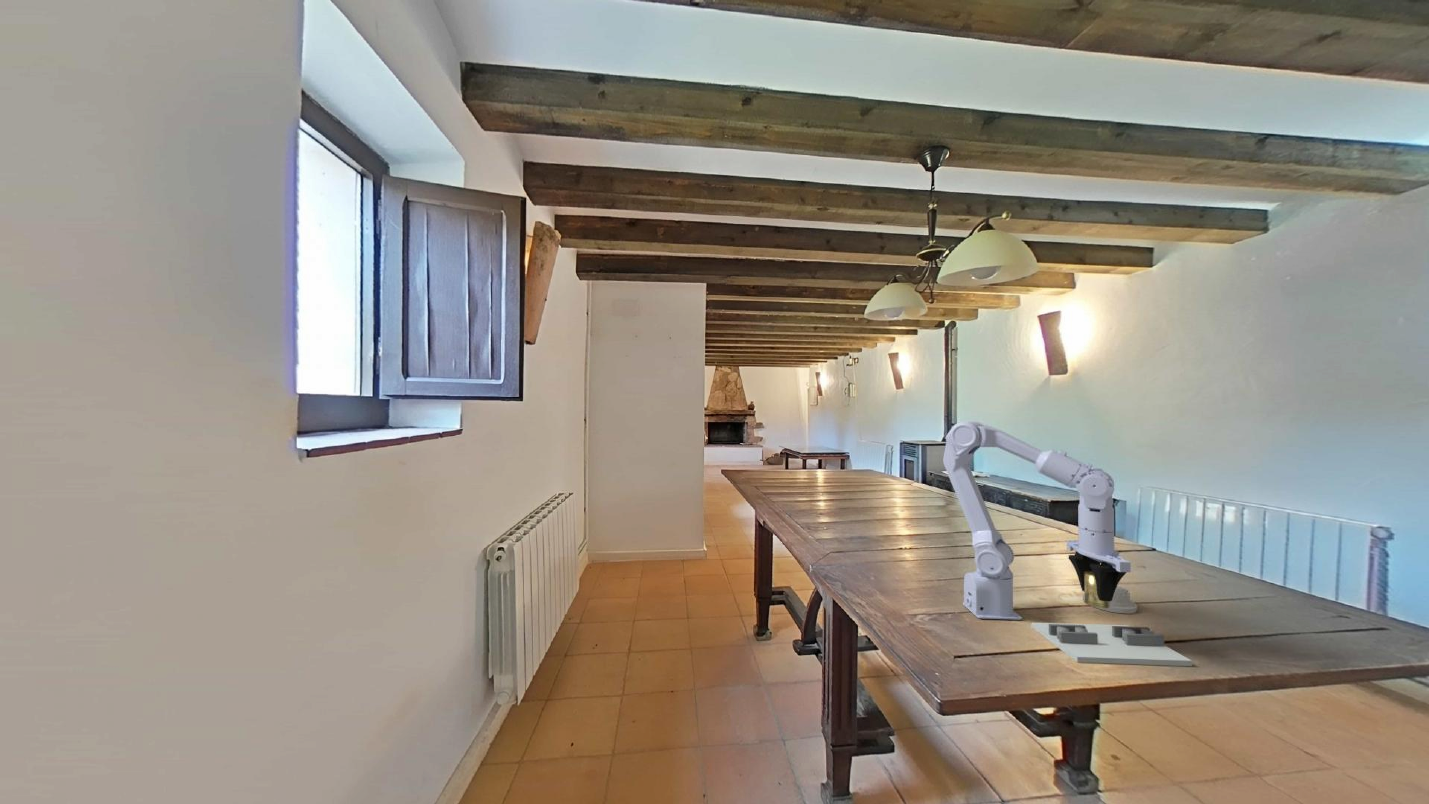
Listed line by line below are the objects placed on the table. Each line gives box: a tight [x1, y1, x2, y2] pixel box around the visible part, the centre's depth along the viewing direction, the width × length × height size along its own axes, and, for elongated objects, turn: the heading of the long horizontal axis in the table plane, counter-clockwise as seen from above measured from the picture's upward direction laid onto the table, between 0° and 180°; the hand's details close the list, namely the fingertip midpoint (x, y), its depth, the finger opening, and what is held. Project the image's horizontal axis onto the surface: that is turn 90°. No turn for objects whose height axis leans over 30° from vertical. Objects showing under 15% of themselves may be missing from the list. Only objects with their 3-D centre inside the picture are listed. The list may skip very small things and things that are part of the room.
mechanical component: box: [1082, 585, 1138, 615], centre depth 113 cm, size 10×4×10 cm
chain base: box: [1030, 622, 1193, 667], centre depth 94 cm, size 20×14×3 cm
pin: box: [1083, 571, 1110, 609], centre depth 96 cm, size 4×4×6 cm
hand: (1096, 595), depth 96 cm, fingers closed on pin, 4 cm apart
